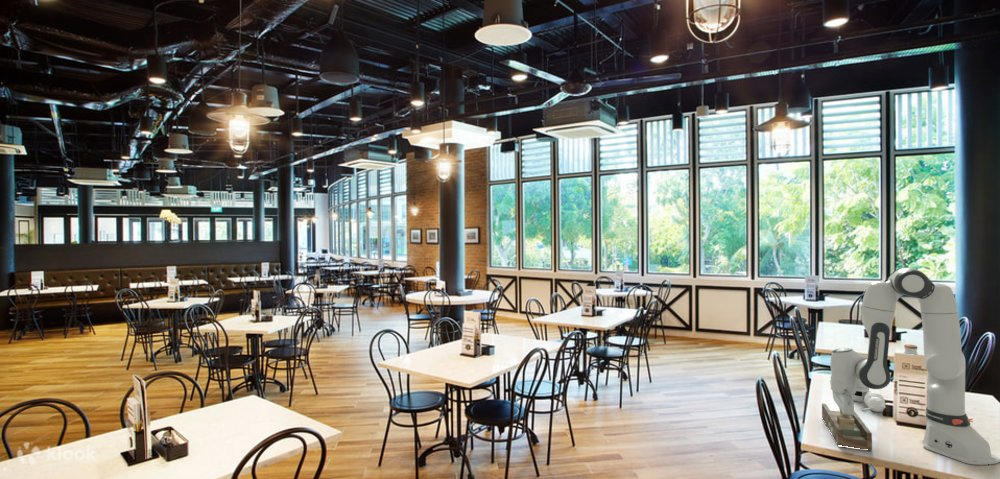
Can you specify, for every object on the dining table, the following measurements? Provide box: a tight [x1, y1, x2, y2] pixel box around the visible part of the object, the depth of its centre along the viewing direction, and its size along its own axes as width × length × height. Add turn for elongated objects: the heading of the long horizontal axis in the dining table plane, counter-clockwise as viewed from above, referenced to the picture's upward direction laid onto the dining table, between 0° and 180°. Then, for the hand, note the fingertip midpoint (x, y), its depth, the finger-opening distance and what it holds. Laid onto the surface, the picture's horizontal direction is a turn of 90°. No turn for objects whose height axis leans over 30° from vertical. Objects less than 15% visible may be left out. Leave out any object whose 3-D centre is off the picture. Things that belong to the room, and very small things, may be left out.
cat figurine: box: [861, 390, 887, 413], centre depth 236 cm, size 9×11×12 cm
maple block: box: [837, 414, 854, 430], centre depth 207 cm, size 5×5×4 cm
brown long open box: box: [821, 403, 873, 451], centre depth 210 cm, size 32×11×7 cm, turn 157°
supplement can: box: [852, 379, 870, 403], centre depth 249 cm, size 8×8×15 cm
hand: (843, 419), depth 211 cm, fingers closed
